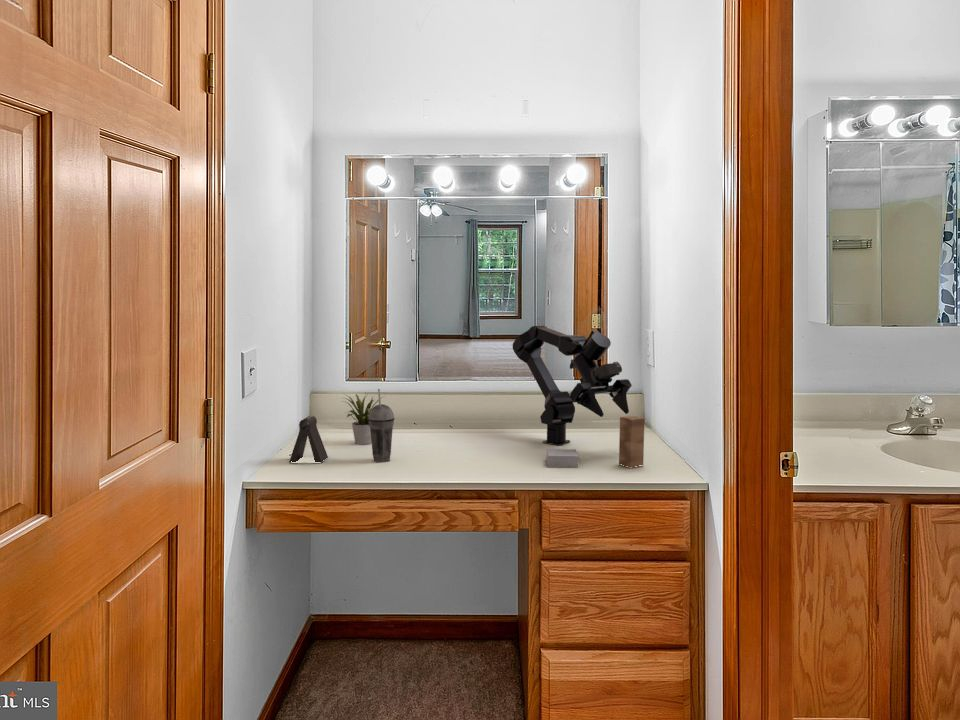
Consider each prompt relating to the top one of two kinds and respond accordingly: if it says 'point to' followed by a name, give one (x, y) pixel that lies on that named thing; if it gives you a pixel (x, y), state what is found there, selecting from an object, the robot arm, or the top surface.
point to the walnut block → (631, 441)
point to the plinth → (562, 458)
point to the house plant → (361, 421)
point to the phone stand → (313, 438)
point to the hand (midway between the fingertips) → (615, 414)
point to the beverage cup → (381, 431)
